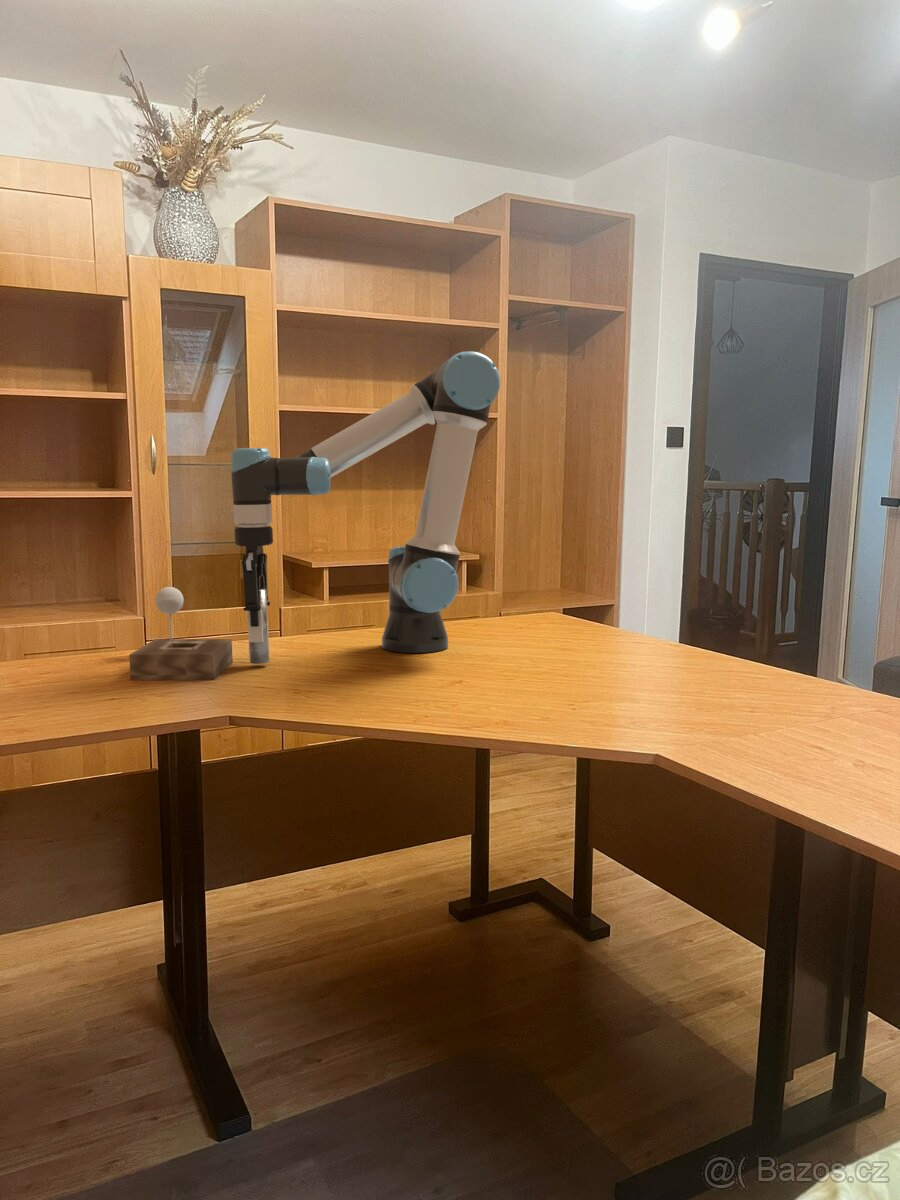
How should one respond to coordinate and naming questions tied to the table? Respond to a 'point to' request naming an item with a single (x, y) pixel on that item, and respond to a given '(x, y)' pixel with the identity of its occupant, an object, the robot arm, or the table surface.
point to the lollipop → (169, 602)
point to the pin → (261, 649)
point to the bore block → (181, 659)
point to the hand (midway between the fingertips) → (258, 639)
